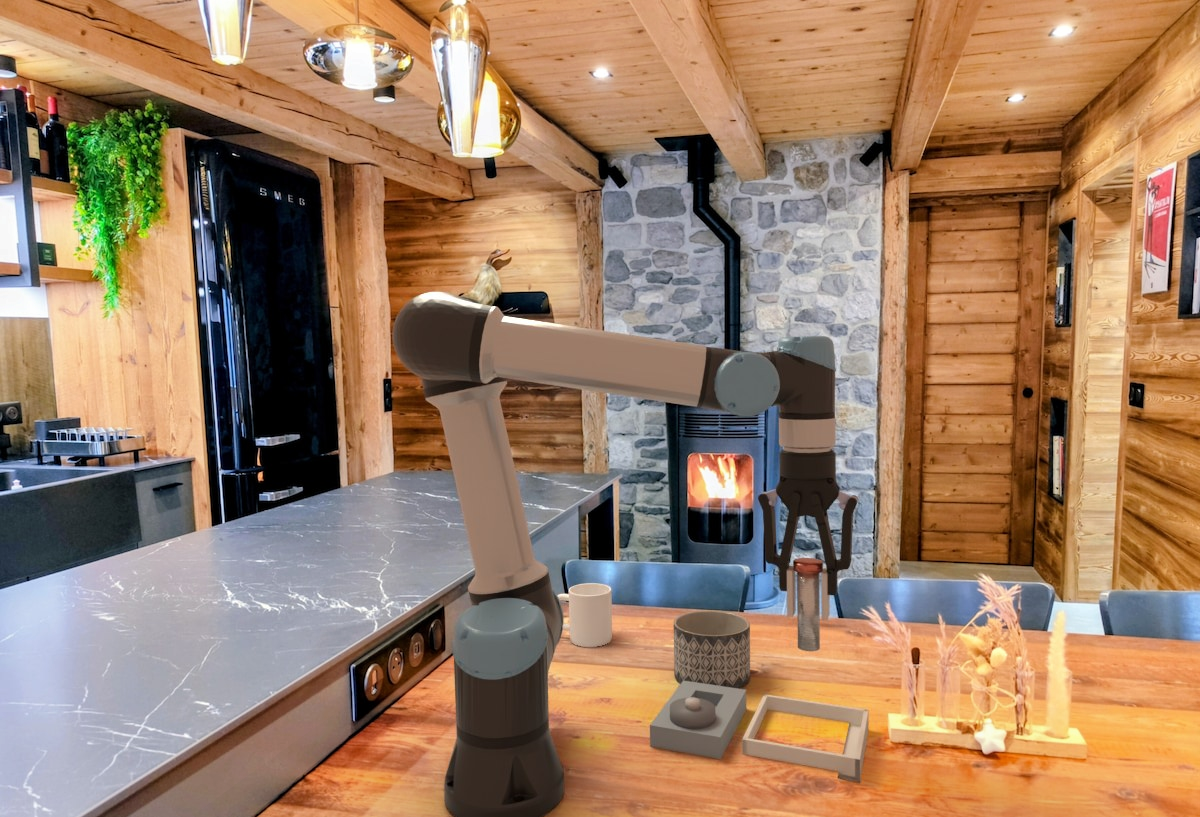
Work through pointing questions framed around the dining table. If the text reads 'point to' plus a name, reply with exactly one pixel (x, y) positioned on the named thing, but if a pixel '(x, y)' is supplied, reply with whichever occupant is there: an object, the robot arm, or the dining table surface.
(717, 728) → the block
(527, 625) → the robot arm
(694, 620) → the planter
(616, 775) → the dining table surface
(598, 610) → the cup
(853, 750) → the tray
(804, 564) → the lock pin
